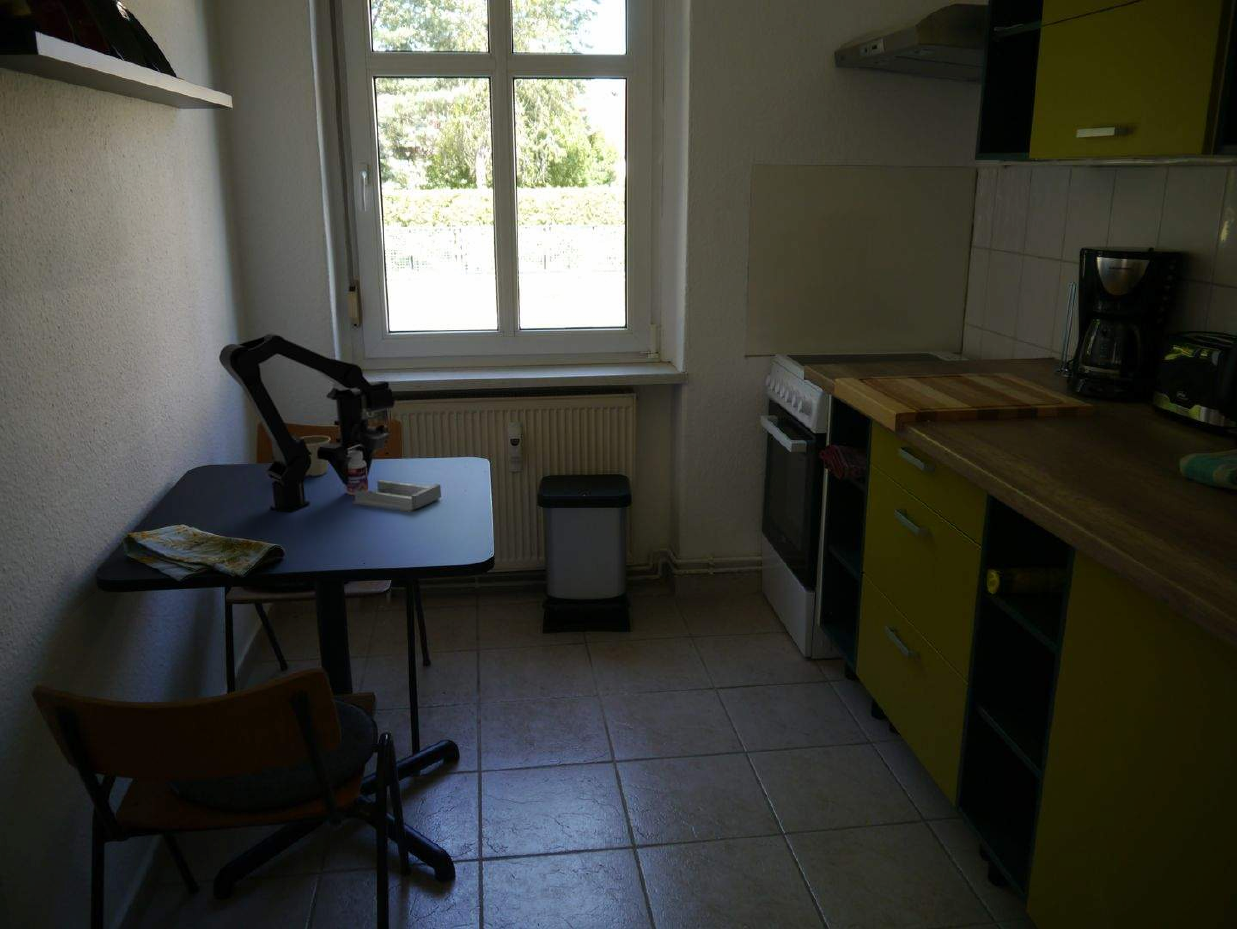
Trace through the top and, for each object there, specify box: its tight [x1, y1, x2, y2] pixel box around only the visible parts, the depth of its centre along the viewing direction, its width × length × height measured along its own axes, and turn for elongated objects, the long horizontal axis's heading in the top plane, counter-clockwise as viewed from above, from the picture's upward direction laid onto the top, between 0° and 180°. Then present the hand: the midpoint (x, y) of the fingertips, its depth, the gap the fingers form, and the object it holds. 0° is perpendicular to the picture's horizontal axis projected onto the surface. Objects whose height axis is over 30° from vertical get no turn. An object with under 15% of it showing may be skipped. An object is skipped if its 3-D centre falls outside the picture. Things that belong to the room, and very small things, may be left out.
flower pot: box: [301, 435, 331, 477], centre depth 260 cm, size 9×9×9 cm
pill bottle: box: [344, 450, 369, 496], centre depth 244 cm, size 5×5×10 cm
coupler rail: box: [352, 479, 442, 513], centre depth 237 cm, size 11×17×4 cm, turn 64°
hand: (356, 479), depth 244 cm, fingers open, 7 cm apart
